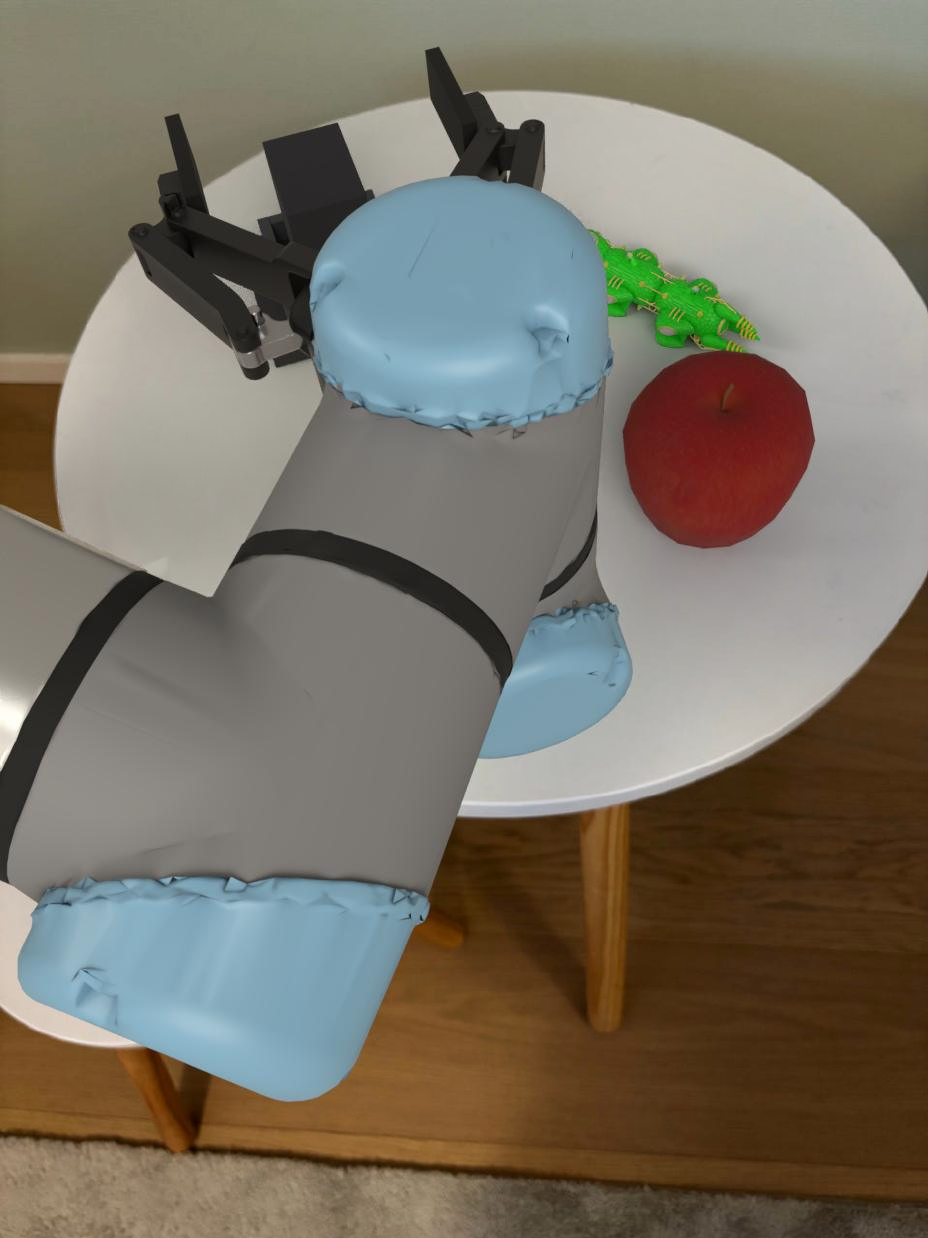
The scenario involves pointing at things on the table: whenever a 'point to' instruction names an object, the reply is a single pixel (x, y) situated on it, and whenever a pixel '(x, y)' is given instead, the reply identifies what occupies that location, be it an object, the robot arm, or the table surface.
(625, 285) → the crocodile figurine
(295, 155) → the pad block
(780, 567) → the table surface
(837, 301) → the table surface
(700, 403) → the apple
